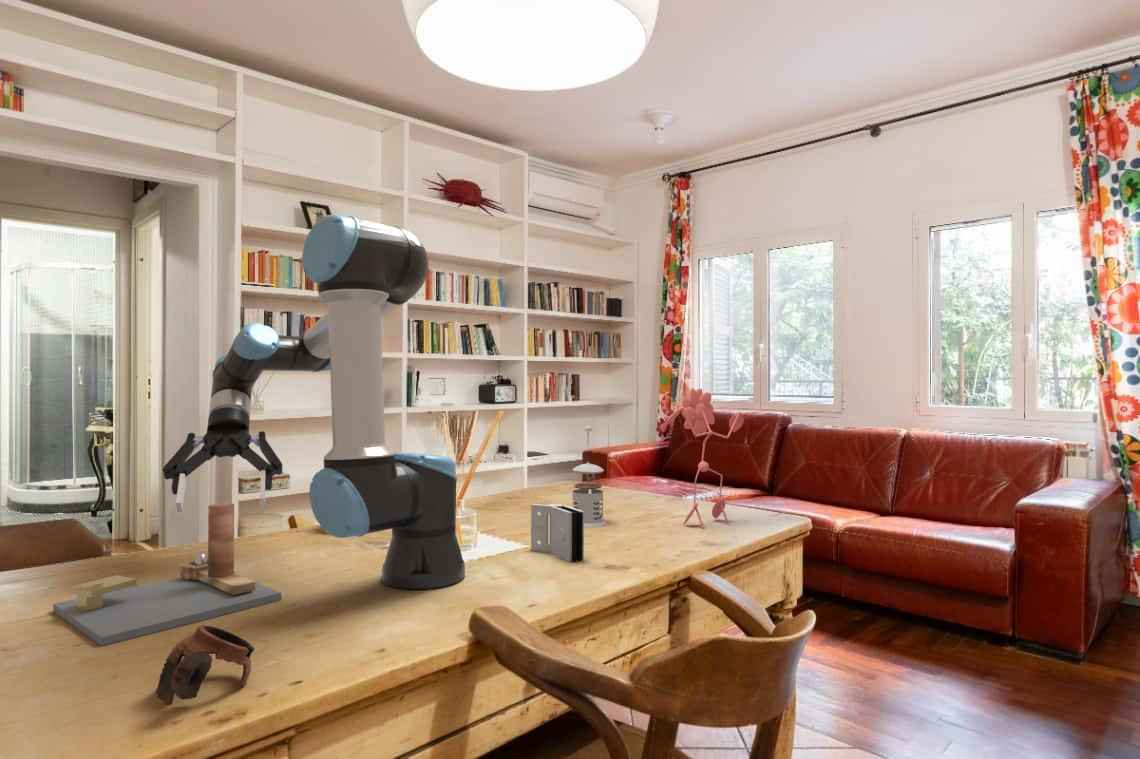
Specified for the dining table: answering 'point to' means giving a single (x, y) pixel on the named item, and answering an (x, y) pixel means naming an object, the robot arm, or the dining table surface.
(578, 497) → the french press
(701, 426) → the pink stick figure
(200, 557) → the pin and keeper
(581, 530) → the hinge
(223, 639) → the brown curved piece
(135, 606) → the charcoal board
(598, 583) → the dining table surface
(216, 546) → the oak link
